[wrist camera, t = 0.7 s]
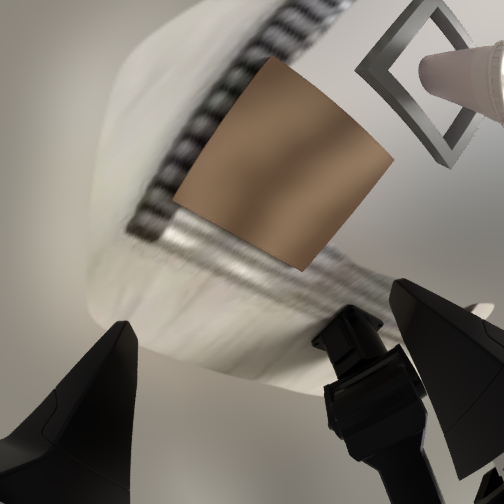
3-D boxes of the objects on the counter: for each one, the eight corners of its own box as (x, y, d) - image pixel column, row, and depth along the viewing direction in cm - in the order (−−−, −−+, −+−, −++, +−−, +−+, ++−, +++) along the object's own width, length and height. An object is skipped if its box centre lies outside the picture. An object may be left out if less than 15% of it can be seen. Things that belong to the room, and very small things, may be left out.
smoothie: (407, 30, 15) (555, 28, 3) (459, 56, 15) (588, 80, 3) (403, 100, 18) (555, 146, 6) (454, 118, 19) (581, 172, 7)
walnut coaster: (387, 156, 20) (394, 159, 19) (299, 265, 25) (302, 272, 24) (269, 56, 16) (271, 55, 15) (174, 195, 20) (172, 200, 19)
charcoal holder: (486, 85, 17) (500, 88, 15) (437, 162, 21) (450, 169, 19) (419, -7, 12) (433, -11, 11) (354, 70, 17) (367, 69, 15)
